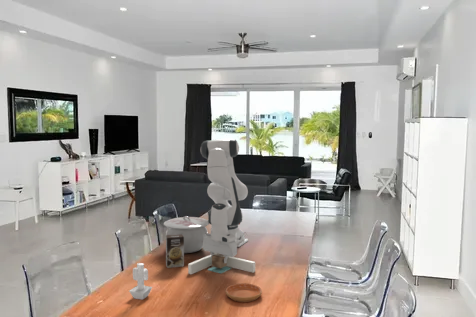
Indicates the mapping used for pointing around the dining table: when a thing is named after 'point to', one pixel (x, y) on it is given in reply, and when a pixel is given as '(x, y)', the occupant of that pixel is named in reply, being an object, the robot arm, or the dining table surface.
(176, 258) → the coffee box
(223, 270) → the pad
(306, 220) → the dining table surface
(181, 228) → the chamber pot
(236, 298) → the saucer
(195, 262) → the white l-shaped bracket
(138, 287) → the figurine
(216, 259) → the cube
